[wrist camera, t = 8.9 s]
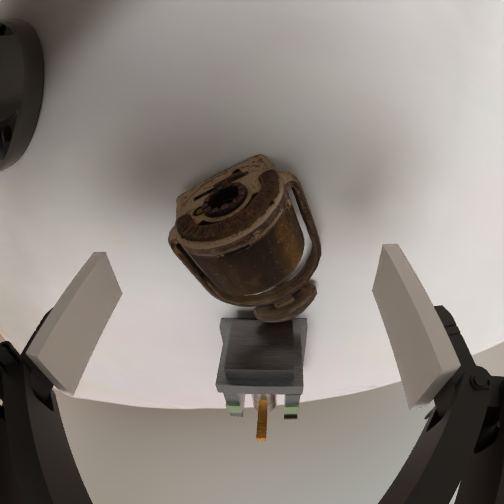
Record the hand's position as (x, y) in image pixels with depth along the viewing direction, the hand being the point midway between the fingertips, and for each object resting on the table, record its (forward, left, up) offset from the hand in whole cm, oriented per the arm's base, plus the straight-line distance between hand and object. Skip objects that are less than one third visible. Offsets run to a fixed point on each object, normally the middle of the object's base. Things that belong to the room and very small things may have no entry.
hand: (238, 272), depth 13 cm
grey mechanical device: (+15, 0, -6) cm, 16 cm away
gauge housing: (+15, 0, -8) cm, 16 cm away
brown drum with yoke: (+3, 0, -8) cm, 8 cm away
